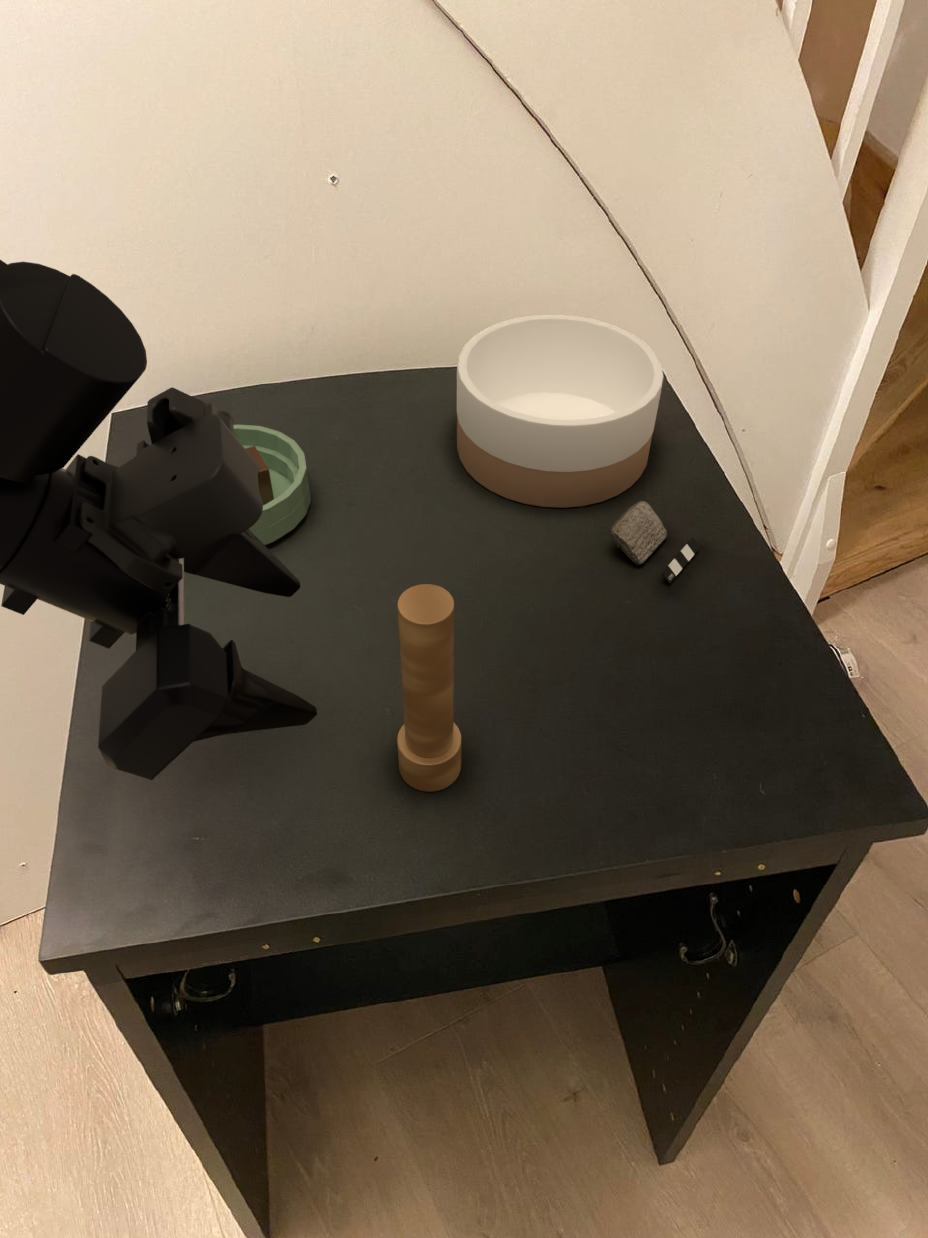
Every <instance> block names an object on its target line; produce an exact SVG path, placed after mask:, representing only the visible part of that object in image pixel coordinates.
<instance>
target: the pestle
mask: <svg viewBox="0 0 928 1238" xmlns="http://www.w3.org/2000/svg"><path fill="white" fill-rule="evenodd" d="M397 621H398V636H399V637H398V638H399V655H400V673H401V691H402V707H403V722H404V723H403V724H402V726H401V727H400V728H399V731H398V733H397V737H396V738H397V739H396V743H397V744H396V745H397V754H398V755H397V759H398V770H399V774H400V777H401V778H402V779H403V781H404V782H405V783H406V784H407V785H408V786H410V787H411V788H412V789H414V790H417V791H420V792H427V793H428V792H429V793H430V792H439V791H442V790H444V789H446V788H448V787H450V786H451V785H452V784H454V783H455V782H456V781H457V779H458V778H459V775H460V773H461V769H462V734H461V733H462V732H461V730H460V729H459V727H458V725H457V724H456V723H455V722H454V720H455V719H454V716H455V713H454V710H455V709H454V705H455V704H454V703H455V702H454V701H455V700H454V699H455V698H454V697H455V693H454V692H455V600H454V597H453V596H452V594H451V593H450V592H449V591H448V590H447V589H445V588H444V587H442V586H440V585H436V584H431V583H421V584H416V585H413V586H410V587H409V588H407V589H406V590H404V591H403V592H402V593H401V595H399V598H398V599H397Z"/></svg>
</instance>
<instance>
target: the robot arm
mask: <svg viewBox="0 0 928 1238" xmlns="http://www.w3.org/2000/svg"><path fill="white" fill-rule="evenodd" d="M145 347H146V346H145V345H144V343H143V339H142V337H141V335H140V334H139V332H138V331H137V329H136V327H135V325H134V324H133V322H132V321H131V320H130V319H129V318H128V316H127V315H126V314H125V313H124V312H123V310H122V309H121V308H120V307H119V306H118V305H117V304H116V303H115V302H114V301H113V300H112V299H111V298H110V297H109V296H108V295H106V294H105V293H104V292H102V291H101V290H100V289H99V288H97V287H96V286H95V285H94V284H92V283H91V282H89V281H87V280H86V279H85V278H83V277H81V276H80V275H78V274H76V273H72V274H71V275H69V274H66V273H65V272H62V271H60V270H59V269H56V268H54V267H51V266H47V265H44V264H41V263H37V262H29V261H16V262H10V263H6V262H5V261H3V260H2V259H0V585H1V586H4V587H3V594H2V599H1V605H0V607H2V608H3V609H4V608H5V609H7V610H9V611H12V612H15V613H17V614H20V615H23V616H24V615H25V614H26V613H27V612H28V611H29V610H30V609H31V607H32V606H33V605H35V603H36V601H37V600H38V601H40V602H44V603H46V604H48V605H51V606H53V607H56V608H58V609H61V610H63V611H66V612H67V613H70V614H73V615H75V616H77V617H80V618H83V619H85V620H88V621H89V622H90V625H89V626H90V627H89V640H88V641H89V642H90V643H93V644H96V645H98V646H101V647H103V648H106V649H108V650H109V649H111V648H112V647H113V646H114V644H115V643H116V642H117V641H118V640H119V639H120V638H121V637H122V636H123V635H124V634H125V633H126V634H128V635H134V634H136V635H135V636H136V637H135V651H134V652H133V653H132V654H131V655H130V656H129V657H128V659H127V660H125V662H124V663H123V664H122V665H121V666H119V668H118V669H117V670H116V671H115V672H114V673H113V674H112V675H111V676H110V677H109V678H108V679H107V681H105V682H104V683H103V685H102V686H101V700H100V711H99V712H100V714H99V727H98V741H97V742H98V743H97V747H98V750H99V752H100V754H101V756H102V759H103V761H104V763H105V765H107V766H108V767H111V768H113V769H115V770H117V771H120V772H123V773H126V774H129V775H133V776H136V777H140V778H143V779H147V780H150V781H153V780H154V779H155V778H156V777H157V776H158V775H160V773H162V771H164V770H165V769H166V768H167V767H168V766H169V765H170V764H172V762H173V761H174V760H176V759H177V758H178V757H179V756H180V755H181V754H182V753H183V752H184V751H185V750H186V749H188V748H189V747H190V746H191V745H192V744H193V743H194V742H198V741H203V740H207V739H211V738H216V737H220V736H221V737H222V736H225V735H233V734H239V733H248V732H256V731H264V730H272V729H273V730H274V729H282V728H290V727H291V728H292V727H298V726H305V725H307V724H309V723H310V722H312V720H313V719H314V718H316V717H317V716H318V711H317V710H318V709H317V707H316V706H315V705H313V704H312V703H310V702H309V701H307V700H305V699H304V698H303V697H300V696H299V695H297V694H295V693H294V692H291V691H289V690H287V689H286V688H283V687H281V686H279V685H277V684H276V683H273V682H271V681H269V680H267V679H265V678H263V677H261V676H259V675H257V674H255V673H253V672H250V671H249V670H247V669H245V668H244V667H243V665H242V663H241V659H240V655H239V652H238V648H237V644H236V642H235V641H234V640H233V639H230V640H229V641H228V642H227V643H226V644H225V645H224V646H223V647H222V646H221V645H220V643H219V642H218V641H217V639H216V638H215V637H214V636H213V635H212V633H211V632H209V631H207V630H205V629H202V628H200V627H197V626H195V625H193V624H191V623H186V622H185V573H186V574H190V575H194V576H197V577H202V578H206V579H209V580H213V581H217V582H221V583H225V584H229V585H232V586H237V587H239V588H240V587H241V588H244V589H248V590H251V591H255V592H259V593H263V594H267V595H268V594H269V595H273V596H280V597H285V598H290V597H293V596H294V595H295V594H296V593H297V592H298V591H299V590H300V589H301V582H300V580H299V579H298V578H297V577H296V576H295V574H293V573H292V572H291V571H290V569H289V568H288V567H286V565H285V564H284V563H283V562H282V561H281V560H280V559H279V558H278V557H277V556H276V555H275V554H274V553H273V552H272V551H271V550H270V549H269V548H268V547H267V545H264V544H263V543H262V542H261V541H260V540H259V539H258V538H257V537H256V536H255V535H254V534H253V533H252V532H251V531H250V530H249V528H250V527H252V526H253V525H254V524H255V523H256V522H257V521H258V519H259V518H260V516H261V514H262V511H263V501H262V498H261V496H260V493H259V483H258V474H259V472H260V471H259V465H258V464H257V462H256V461H255V460H254V459H253V458H252V456H251V455H250V454H249V453H248V452H247V450H246V449H245V448H244V447H243V446H242V444H241V443H240V442H239V441H238V439H237V438H236V437H235V436H234V427H233V425H234V418H233V416H232V414H231V413H230V412H228V411H226V410H219V411H218V410H217V409H216V408H215V406H214V405H213V404H212V403H209V404H207V403H206V402H205V401H203V400H201V399H199V398H196V397H194V396H192V395H190V394H188V393H186V392H184V391H182V390H180V389H177V388H175V387H169V388H167V389H166V390H164V391H162V392H160V393H158V394H157V395H155V396H153V397H151V398H149V400H148V401H147V405H146V406H147V409H146V425H147V430H148V434H149V439H150V441H151V443H150V444H148V443H147V442H146V440H141V441H139V442H137V443H136V454H135V456H134V457H133V458H131V459H129V460H127V461H126V462H125V463H124V464H122V465H120V466H117V465H113V464H110V463H109V462H106V461H104V460H102V459H100V458H98V457H96V456H93V455H88V456H87V457H85V456H83V455H81V454H79V453H77V452H78V451H79V450H80V449H81V448H82V447H83V445H84V444H85V443H86V442H87V441H88V439H89V438H90V437H91V436H92V435H93V433H94V432H95V431H96V430H97V429H98V428H99V426H100V425H101V424H102V423H103V422H104V421H105V419H106V418H107V417H108V416H109V414H110V413H111V412H112V411H113V410H114V408H115V407H116V406H117V405H118V404H119V403H120V401H121V400H122V399H123V398H124V397H125V395H126V394H127V393H128V392H129V391H130V390H131V388H133V386H134V385H135V384H136V383H137V381H138V380H139V379H140V378H141V376H143V374H144V373H145V371H146V369H147V365H148V357H147V349H146V348H145ZM76 453H77V454H76ZM75 455H76V456H75ZM74 456H75V457H74ZM73 457H74V458H73ZM72 458H73V459H72ZM71 459H72V461H71V462H70V460H71ZM69 462H70V463H69ZM68 463H69V464H68ZM67 464H68V466H67ZM66 466H67V467H66ZM65 467H66V468H65Z"/></svg>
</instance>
